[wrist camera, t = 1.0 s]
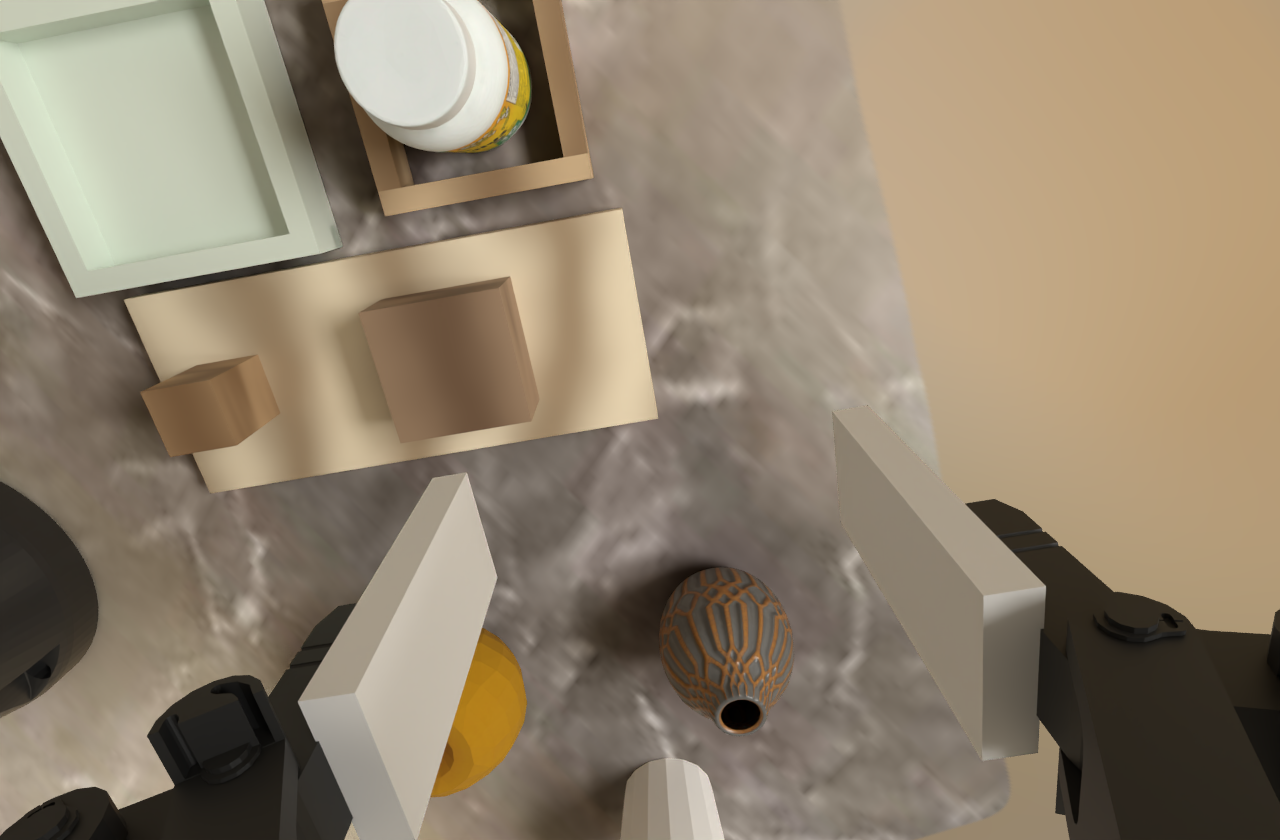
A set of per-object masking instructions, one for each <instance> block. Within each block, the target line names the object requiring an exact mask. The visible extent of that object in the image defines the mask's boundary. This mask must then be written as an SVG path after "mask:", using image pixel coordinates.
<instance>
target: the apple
mask: <svg viewBox="0 0 1280 840" xmlns="http://www.w3.org/2000/svg"><path fill="white" fill-rule="evenodd" d="M526 706H527V700H526V695H525V689H524V684H523V678H522V673H521V668H520V666H519V664H518V662H517V660H516V658H515V656H514V655H513V653H512V652H511V651H510V649H509V648H508V647H507V645H506V644H505V643H504V642H503V641H502V640H501V639H500V638H499V637H497V636H495V635H494V634H492V633H490V632H489V631H487V630H486V629H484V628H482V629H481V633H480V636H479V639H478V642H477V646H476V649H475V652H474V655H473V659H472V662H471V665H470V669H469V672H468V675H467V678H466V682H465V685H464V688H463V691H462V695H461V698H460V701H459V704H458V708H457V711H456V714H455V718H454V721H453V724H452V727H451V731H450V734H449V737H448V740H447V744H446V747H445V750H444V753H443V757H442V760H441V763H440V767H439V770H438V773H437V776H436V780H435V783H434V786H433V789H432V793H431V796H430V797H442V796H448V795H450V794H453V793H456V792H458V791H461V790H464V789H466V788H468V787H470V786H471V785H473V784H474V783H476V782H477V781H479V780H480V779H482V778H483V777H485V776H486V775H488V774H489V773H490V772H491V771H492V770H493V769H494V768H495V767H496V766H497V765H498V764H500V763H501V762H502V761H503V759H504V758H505V756H506V755H507V753H508V752H509V750H510V749H511V747H512V746H513V744H514V742H515V740H516V738H517V736H518V734H519V732H520V730H521V727H522V725H523V723H524V719H525V712H526Z"/></svg>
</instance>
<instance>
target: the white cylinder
mask: <svg viewBox="0 0 1280 840" xmlns="http://www.w3.org/2000/svg"><path fill="white" fill-rule="evenodd" d="M620 840H724V836H723V832H722V828H721V823H720V819H719V815H718V811H717V807H716V803H715V799H714V795H713V791H712V787H711V784H710V781H709V778H708V775H707V774H706V773H705V772H704V771H703V770H702V769H701V768H700V767H699V766H698V765H695V764H693V763H691V762H688V761H686V760H683V759H673V758H663V759H659V760H654V761H650V762H647V763H646V764H644V765H643V766H641V767H639V768H638V769H636V770H635V771H634V772H633V774H632V775H631V776H630V778H629V779H628V780H627V783H626V790H625V798H624V807H623V817H622V827H621V836H620Z"/></svg>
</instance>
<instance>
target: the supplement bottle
mask: <svg viewBox="0 0 1280 840" xmlns="http://www.w3.org/2000/svg"><path fill="white" fill-rule="evenodd" d="M334 51H335V59H336V63H337V67H338V70H339V73H340V76H341V79H342V81H343V82H344V84H345V86H346V88H347V89H348V91H349V93H350V94H351V95H352V97H353V98H354V99H355V101H356V102H357V103H358V104H359V105H360V106H361V107H362V108H363V109H364V110H365V111H366V113H367V114H368V115H369V117H370V118H371V119H372V120H373V121H374V123H375V124H376V125H377V126H378V127H379V128H381V129H382V130H383V131H384V132H385V133H387V134H388V135H389V136H391V137H392V138H394V139H395V140H397V141H399V142H401V143H403V144H405V145H407V146H410V147H413V148H416V149H420V150H425V151H433V152H465V153H478V152H484V151H489V150H492V149H495V148H497V147H499V146H501V145H502V144H504V143H505V142H506V141H508V140H509V139H510V138H511V137H512V136H513V135H514V134H515V133H516V132H517V130H518V129H519V128H520V127H521V125H522V124H523V122H524V121H525V119H526V117H527V115H528V112H529V109H530V105H531V100H532V78H531V73H530V69H529V65H528V62H527V60H526V57H525V55H524V53H523V51H522V49H521V47H520V46H519V44H518V43H517V41H516V40H515V39H514V37H513V36H512V35H511V34H510V33H509V32H508V31H507V30H506V29H505V27H504V26H503V25H502V24H501V23H500V22H499V21H498V20H497V19H496V18H495V17H494V16H493V15H492V14H491V13H490V12H489V11H488V10H487V9H486V8H485V7H484V6H483V5H482V4H481V3H480V2H479V1H478V0H348V1H347V2H346V4H345V5H344V7H343V9H342V11H341V13H340V15H339V17H338V20H337V24H336V28H335V36H334Z"/></svg>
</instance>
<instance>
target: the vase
mask: <svg viewBox="0 0 1280 840" xmlns="http://www.w3.org/2000/svg"><path fill="white" fill-rule="evenodd" d="M659 648H660V656H661V661H662V664H663V668H664V670H665V673H666V675H667V678H668V680H669V682H670V683H671V685H672V687H673V689H674V690H675V692H676V693H677V695H678V696H679V697H680V698H681V699H682V701H683V702H684V703H685V704H686V705H688V706H689V707H690V708H691V709H692V710H694V711H695V712H697V713H699V714H700V715H702V716H704V717H706V718H708V719H710V720H712V721H713V722H714V723H715V724H716V726H717V727H718V728H719V729H720V730H721V731H723V732H724V733H726V734H729V735H732V736H746V735H750V734H752V733H754V732H756V731H758V730H759V729H760V728H761V727H762V726H763V725H764V723H765V721H766V719H767V716H768V712H769V710H770V709H771V708H772V707H773V706H774V705H775V703H776V702H777V701H778V700H779V698H780V697H781V696H782V694H783V693H784V691H785V689H786V687H787V685H788V683H789V680H790V677H791V673H792V668H793V661H794V642H793V634H792V630H791V627H790V623H789V620H788V618H787V615H786V613H785V611H784V609H783V607H782V605H781V603H780V602H779V600H778V599H777V597H776V596H775V595H774V594H773V592H772V591H771V590H770V589H769V588H768V587H767V586H766V585H765V584H764V583H763V582H761V581H760V580H759V579H757V578H756V577H754V576H752V575H751V574H749V573H747V572H744V571H742V570H738V569H734V568H726V567H718V568H710V569H706V570H703V571H700V572H697V573H695V574H693V575H691V576H690V577H688V578H687V579H685V580H684V581H683V582H682V583H680V584H679V586H678V587H677V588H676V589H675V590H674V592H673V593H672V594H671V596H670V598H669V599H668V601H667V604H666V606H665V608H664V611H663V614H662V618H661V621H660V629H659Z"/></svg>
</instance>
